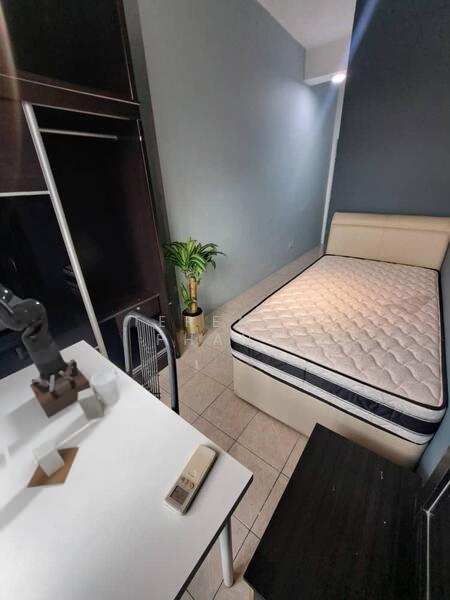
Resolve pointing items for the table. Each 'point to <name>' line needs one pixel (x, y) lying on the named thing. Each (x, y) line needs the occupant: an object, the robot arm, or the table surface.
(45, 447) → the light grey block
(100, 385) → the cup
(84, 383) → the lid
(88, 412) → the box
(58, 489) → the table surface
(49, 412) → the chest
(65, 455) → the pad
